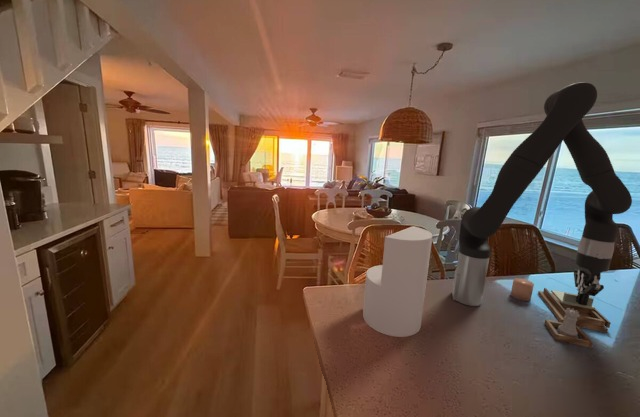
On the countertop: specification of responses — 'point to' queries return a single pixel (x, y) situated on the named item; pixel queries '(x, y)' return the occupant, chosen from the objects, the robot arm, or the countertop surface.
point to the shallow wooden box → (587, 316)
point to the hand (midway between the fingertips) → (581, 303)
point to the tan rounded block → (522, 289)
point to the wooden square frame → (583, 341)
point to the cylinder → (398, 284)
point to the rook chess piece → (569, 323)
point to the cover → (571, 299)
